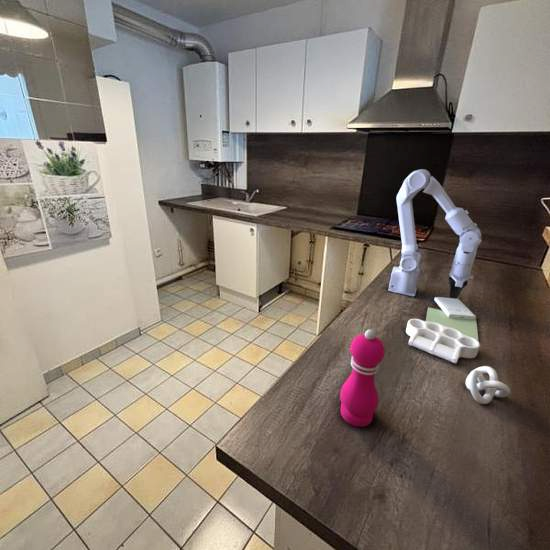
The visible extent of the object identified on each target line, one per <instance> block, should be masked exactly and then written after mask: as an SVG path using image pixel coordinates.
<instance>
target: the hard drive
mask: <svg viewBox="0 0 550 550" xmlns="http://www.w3.org/2000/svg"><path fill="white" fill-rule="evenodd" d="M434 302H435V303H436V304H437V306H438V307H439V308H440V310H442V311H443V312H444V313H445V314H446V315H447V316H448V318H454V319H465V320H475V319H476V320H477V315H475V314H474V313H473V312H472V311H471V310H470V309H469V308H468V307H467V306H466V305H465V304H464V303H463V302H462V301H461V300H460V299H459V298H456V299H454V298H450V297H443V296H435V297H434Z"/></svg>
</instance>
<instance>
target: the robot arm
mask: <svg viewBox="0 0 550 550" xmlns="http://www.w3.org/2000/svg"><path fill="white" fill-rule="evenodd" d="M423 189H424V190H423ZM421 190H423V191H422V193H425V194H427V195H431V196H432V198H434V200H435V201H436V202H437V203H438V205H439V206H440V207H441V208H442V210H443V211H444V212H445V217H444V219H445V221H446V222H447V223H448V225H449V226H450V228H451V229H452V230H453V232H454V233H455V234H456V235H458V236H459V243H458V246H457V248H456V250H455V254H454V258H453V262H452V266H451V269H450V272H449V274H448V275H449V276H448V284H449V298H454V299H458V297H459V296H460V294H461V292H462V291H463V289H464V288H465V287H467V286H468V280H473V279H474V276H473V275H471V273H472V268H473V265H474V262H475V259H476V255H477V250H478V248H479V245H480V244H481V243H482V233H481V230H480V227H478V224H477V223H476V222H474V221H473V220H472V219H471V217H470V216H469V211H468V210H467V209H465V208H463V207H457V206H456V205H455V204H454V202H453V200H452V199H451V198H450V196H449V195H448V193H447V192H446V190H444V188H443V186H442V185H441V184H440V182H439V181H438V180H437V179H436V178H435V177H434V176H433V175H431V173H430V171H429V170H427V169H424V168H422V169H421V168H420V169H417V170H414V171H412V172H411V173H410V174H408V176H407V177H406V178H405V179H404V180H403V182H402V185H401V187H400V189H399V191H398V193H397V194H396V197H395V198H396V206H397V214H398V222H399V231H400V239H401V257H400V261H399V266H393V267H392V270H391V274H390V279H389V281H388V283H389V284H388V289H387V291H388V292H392V293H397V294H399V295H404V296H410V297H415V296H416V293H417V290H418V288H417V285H418V281H419V276H420V272H421V269H420V267H419V266H420V263H421V262H422V258H423V255H422V253H421V252H420V250H419V245H418V243H417V235H416V234H417V233H416V227H415V226H416V225H415V217H414V208H413V199H414V198H415V196H416V195H417V194H418V193H419V192H420V191H421ZM464 209H465V210H464Z"/></svg>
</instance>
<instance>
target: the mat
mask: <svg viewBox="0 0 550 550" xmlns="http://www.w3.org/2000/svg"><path fill="white" fill-rule="evenodd" d="M425 321H426V322H435V323H439V324H441V325H443V326H446V327H449V328H453V329H456V330H458V331H459V332H461V333H462V334H464V335H466V336H469V337H472V338H474V339H476V340H477V341H478V342H479V335H478V334H479V333H478V324H477V318H476V319H475V320H465V319H454V318H448V316H447V315H446V314H445V313H444V312H443V310H442V309H437V308H433V307H429V306H428V307H427V311H426V316H425Z"/></svg>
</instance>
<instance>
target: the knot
mask: <svg viewBox="0 0 550 550" xmlns="http://www.w3.org/2000/svg"><path fill="white" fill-rule="evenodd" d="M483 374H488V375H489V380H486V378H485V376H484V375H483ZM465 386H466V389H468V390H469V391H470V393H471V395H472V397H473V399H474V400H475V401H476V402H477V403H479V404H482V405H487V404H489V403H491V401H492V400H493V399H494V397H495V398H496V397H498V398H506V397H509V396H510V394H511V389H510V387H509V386H508V385H507V384H506V383H504V382H501V381H499V375H498V372H497V371H496V369H494V368H493V367H491V366H488V365H483V366H479V367H477V368H475V369H472V370H471V371H470V373H468V375H467V377H466V379H465ZM480 391H484V392H485V393H484V395H483V396H482V395H481V393H480Z"/></svg>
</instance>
